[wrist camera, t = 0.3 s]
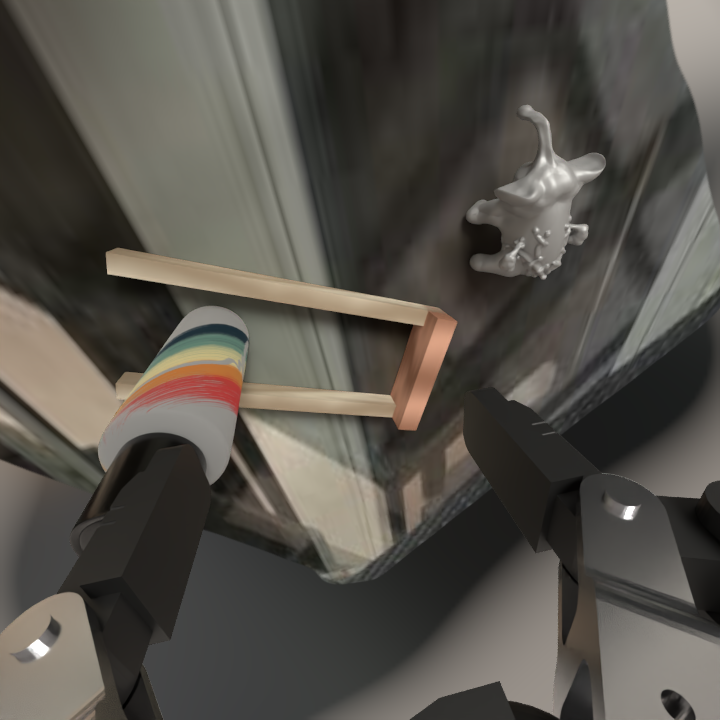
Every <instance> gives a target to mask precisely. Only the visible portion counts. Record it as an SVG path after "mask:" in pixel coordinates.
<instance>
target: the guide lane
mask: <svg viewBox="0 0 720 720" xmlns="http://www.w3.org/2000/svg"><path fill="white" fill-rule="evenodd" d="M106 261H107V274H110V275H116V276H122V277H129V278H135V279H141V280H147V281H153V282H159V283H165V284H171V285H177V286H183V287H189V288H195V289H201V290H207V291H213V292H220V293H226V294H232V295H238V296H244V297H250V298H256V299H262V300H268V301H274V302H280V303H286V304H292V305H298V306H305V307H311V308H317V309H323V310H329V311H335V312H341V313H347V314H353V315H359V316H365V317H371V318H377V319H383V320H389V321H396V322H402V323H408V324H413V328H412V331H411V334H410V337H409V340H408V343H407V346H406V349H405V352H404V355H403V358H402V361H401V364H400V367H399V370H398V374H397V377H396V380H395V383H394V386H393V389H392V392H391V395H381V394H370V393H358V392H347V391H336V390H325V389H313V388H302V387H291V386H280V385H268V384H257V383H246V382H243V384H242V390H241V396H240V402H239V407H242V408H257V409H272V410H287V411H302V412H317V413H333V414H348V415H363V416H378V417H392V418H393V420H394V422H395V424H396V426H397V428H398V429H400V430H416V429H417V426H418V424H419V421H420V419H421V416H422V413H423V411H424V408H425V406H426V403H427V400H428V398H429V395H430V393H431V390H432V387H433V385H434V382H435V380H436V377H437V374H438V372H439V369H440V366H441V364H442V361H443V359H444V356H445V353H446V351H447V348H448V346H449V343H450V340H451V338H452V335H453V333H454V330H455V327H456V325H457V321H456V320H454V319H453V318H452V317H450V316H449V315H448V314H446V313H445V312H443V311H442V310H441V309H439V308H438V307H432V306H427V305H422V304H416V303H411V302H405V301H400V300H395V299H389V298H384V297H379V296H373V295H368V294H363V293H357V292H352V291H347V290H341V289H336V288H331V287H325V286H320V285H315V284H309V283H304V282H299V281H293V280H288V279H283V278H277V277H272V276H267V275H261V274H256V273H250V272H245V271H240V270H234V269H229V268H224V267H218V266H213V265H208V264H202V263H197V262H192V261H186V260H181V259H176V258H170V257H165V256H160V255H154V254H149V253H144V252H138V251H133V250H128V249H122V248H116V249H113V250H111V251H108V252H106ZM143 374H144V373H133V372H125V373H124V374H123V375H122V376H121V378H120V379H119V380H118V381H117V383H116V396H117V399H122V400H126V398H127V397H128V395H129V394H130V393H131V391H132V390H133V388H134V387H135V385H136V384H137V383H138V381H139V380H140V378H141V377H142V376H143Z"/></svg>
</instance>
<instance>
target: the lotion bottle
mask: <svg viewBox="0 0 720 720" xmlns="http://www.w3.org/2000/svg"><path fill="white" fill-rule="evenodd" d="M248 348H249V333H248V330H247V327H246V325H245V323H244V322H243V320H242V319H241V318H240V317H239V316H238V315H237V314H235V313H234V312H232V311H231V310H229V309H226V308H223V307H220V306H203V307H200V308H197V309H195V310H193V311H191V312H190V313H188V314H187V315H186V316H185V317H184V319H183V320H182V321H181V322H180V323H179V325H178V326H177V328H176V329H175V330H174V332H173V333H172V335H171V336H170V337H169V339H168V340H167V342H166V343H165V344H164V346H163V347H162V349H161V350H160V352H159V353H158V354H157V356H156V357H155V359H154V360H153V361H152V363H151V364H150V366H149V367H148V369H147V370H146V371H145V373H144V374H143V376H142V377H141V378H140V380H139V381H138V383H137V384H136V385H135V387H134V388H133V390H132V391H131V393H130V394H129V395H128V397H127V398H126V400H125V401H124V402H123V404H122V405H121V407H120V408H119V410H118V411H117V412H116V414H115V415H114V417H113V418H112V420H111V421H110V423H109V424H108V426H107V427H106V429H105V431H104V432H103V434H102V437H101V439H100V442H99V447H98V455H99V460H100V463H101V465H102V467H103V469H104V470H105V472H106V473H105V475H104V477H103V478H102V480H101V482H100V483H99V485H98V487H97V488H96V490H95V492H94V493H93V495H92V497H91V498H90V500H89V502H88V504H87V505H86V507H85V509H84V510H83V512H82V514H81V515H80V517H79V519H78V520H77V522H76V524H75V526H74V528H73V529H72V532H71V534H70V544H71V546H72V548H73V550H74V551H75V553H76V554H77V556H78V557H80V555H81V554H82V552H83V550H84V549H85V547H86V546H87V544H88V542H89V541H90V539H91V537H92V536H93V534H94V533H95V531H96V529H97V528H98V527H100V526H101V524H100V523H101V521H102V520H103V518H104V516H105V515H106V513H107V512H108V511H110V507H111V505H112V503H113V502H114V500H115V499H116V497H117V495H118V494H119V492H120V491H121V489H122V488H123V487H124V486H125V485H126V484H127V483H128V482H129V481H130V480H131V479H133V478H134V477H135V476H136V475H137V474H138V473H139V472H143V471H145V470H146V468H147V466H148V464H149V463H150V461H151V459H152V458H153V456H154V454H155V453H156V451H157V450H159V449H164V448H169V447H174V446H179V445H185V444H190V445H191V446H192V447H193V449H194V451H195V453H196V455H197V457H198V459H199V462H200V464H201V466H202V468H203V470H204V473H205V475H206V477H207V479H208V482H209V484H210V485H211V484H213V483H214V482H215V481H216V480H217V479H218V478H219V477H220V476H221V475H222V474H223V472H224V470H225V468H226V466H227V464H228V461H229V458H230V454H231V448H232V443H233V437H234V432H235V426H236V420H237V414H238V408H239V402H240V396H241V390H242V384H243V378H244V372H245V366H246V360H247V354H248Z"/></svg>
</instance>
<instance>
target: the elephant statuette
mask: <svg viewBox="0 0 720 720" xmlns="http://www.w3.org/2000/svg"><path fill="white" fill-rule="evenodd" d="M517 116H518V118H520V119H521V120H527V121H530V122H531V123H533V125H534V126H535V127H536V129H537V132H538V139H539V145H538V151H537V155H536V158H535V160H534V161H533V162H527V163H525V164H523V165H522V166H521V167H520V168H519V169H518V170H517V172H516V174H515V176H514V180H513V183H510V184H508V185H505V186H503V187H500V188H498V189H495V190H494V194H495V195H496V197H497V198H498V199H494V200H490V201H488V202H487V201H486V200H479V201H478V202H476V203H475V204H474V205H473V206H472V207H471V208H470V209H469V210H468V211H467V214H466V219H467V221H468V222H470V223H472V224H482V223H486V224H490V225H493V226H496V227H498V228H499V230H500V231H501V233H502V236H501V243H502V248H501V251H500V252H498V253H496V254H493V255H487V254H481V253H479V254H475V255H473V256H472V257H471V259H470V265H471V267H472V268H473V269H474V270H476V271H480V272H488V273H494V274H499V275H503V276H506V277H513V276H517V275H519V274H522V275H526V276H532V277H536V276H540V277H541V279H546V277H547V275H546V274H549V273H550V272H551V271H552V270H554V269H556V268H557V267H559V266H560V265H561V262H560V260H561V257H562V254H564V253H565V252H566V250H565V248H564V247H565V246H566V244H567V243H570V244H575V245H577V246H579V245H581V244H582V243H583V241H584V240H585V239H586V238H587V236H588V225H586V224H581V225H574V224H569V222H570V221H571V219H572V217H571V216H570V209H571V202H572V199H573V198H574V196H575V195H576V194H577V193H578V192H579V190H580V189H581V187H582V185H583V184H585V183H588V182H590V181H592V180H593V179H595V178H596V177H597V176H598V175H599V174H600V173H601V172H602V171H603V169H604V167H605V164H606V161H605V158H604V157H603V156H602V155H601V154H598V153H590V154H587V155H585V156H582V157H580V158H577V159H574V160H571V161H568V162H567V161H565V160H564V159H562V158H560V157H559V156H557V155H556V154H555V153H554V151H553V149H552V138H551V131H550V125H549V122H548V120H547V119H546V118H545V117H544V116H543V115H542V114H541V113H540V112H536V111H534V110H533V109H532V107H531V106H529V105H524V106H521V107H520V108H519V109H518V110H517ZM571 229H574V230H572V231H571Z"/></svg>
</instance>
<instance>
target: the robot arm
mask: <svg viewBox="0 0 720 720" xmlns="http://www.w3.org/2000/svg"><path fill="white" fill-rule="evenodd" d="M463 435H464V440H465V444H466V447H467V449H468V451H469V453H470V454H471V456H472V457H473V459H474V461H475V462H476V464H477V465H478V467H479V468H480V470H481V471H482V473H483V474H484V476H485V477H486V479H487V480H488V482H489V483H490V485H491V486H492V488H493V489H494V491H495V492H496V494H497V495H498V497H499V498H500V500H501V501H502V503H503V504H504V506H505V507H506V509H507V510H508V512H509V513H510V515H511V516H512V518H513V519H514V521H515V522H516V524H517V525H518V527H519V528H520V530H521V531H522V533H523V535H524V536H525V538H526V539H527V541H528V542H529V544H530V545H531V546H532V548H533V550H534V551H535V553H539V552H543V551H547V550H551V549H553V550H554V552H555V553H556V555H557V556H558V557H559V559H560V561H559V566H558V652H557V664H556V671H555V678H554V689H553V715H552V714H550V713H547V712H545V711H543V710H540V709H538V708H535V707H533V706H530V705H526V704H522V703H518V702H513V701H508V700H507V698H506V696H505V693H504V691H503V688H502V686H501V683H500V681H499V682H495V683H491V684H488V685H484V686H481V687H477V688H474V689H470V690H466V691H463V692H459V693H455V694H452V695H448V696H445V697H442V698H439V699H437V700H436V701H434V702H433V703H432V704H430V705H429V706H428V707H426V708H425V709H424V710H422V711H421V712H420V713H418V714H417V715H415V716H414V717H413V718H411V719H410V720H720V481H715V482H712V483H710V484H709V485H708V486H707V487H706V489H705V491H704V493H703V495H702V496H701V498H700V499H697V498H681V497H667V496H655V495H654V494H653V493H652V492H650V491H649V490H648V489H646V488H645V487H643V486H642V485H640V484H638V483H636V482H634V481H632V480H630V479H627V478H625V477H621V476H618V475H613V474H604V473H603V474H602V473H601V472H600V471H599V470H598V469H596V468H595V467H594V466H593V465H592V464H591V463H590V462H589V461H588V460H587V459H586V458H584V457H583V456H582V455H581V454H580V453H579V452H578V451H577V450H576V449H575V448H574V447H572V446H571V445H570V444H569V443H568V442H567V441H566V440H565V439H564V438H563V437H562V436H560V435H559V434H558V433H555V430H554V429H553V428H552V427H551V426H550V425H548V424H547V423H545V422H544V420H543V419H542V418H541V417H540V416H539V415H538V414H536V413H535V412H534V411H533V410H532V409H531V408H529V407H527V406H525V405H523V404H521V403H519V402H517V401H515V400H511V401H507V400H506V399H505V398H504V397H503V396H502V395H501V394H500V393H499V392H498V391H497V390H496V389H495V388H493V387H488V388H483V389H478V390H472V391H468V392H466V394H465V401H464V426H463ZM210 503H211V489H210V484H209V482H208V479H207V477H206V475H205V473H204V470H203V468H202V466H201V464H200V462H199V459H198V457H197V455H196V453H195V451H194V449H193V447H192V446H191V445H190V444H185V445H179V446H174V447H169V448H164V449H159V450H157V451H156V453H155V454H154V456H153V458H152V459H151V461H150V463H149V464H148V466H147V468H146V470H145V471H143V472H139V473H138V474H137V475H136V476H135V477H134V478H133V479H131V480H130V481H129V482H128V483H127V484H126V485H125V486H124V487H123V488H122V489H121V491H120V492H119V494H118V495H117V497H116V499H115V500H114V502H113V503H112V505H111V507H110V511H108V512H107V513H106V515H105V516H104V518H103V520H102V521H101V523H100V524H101V526H100V527H98V528H97V529H96V531H95V533H94V534H93V536H92V537H91V539H90V541H89V542H88V544H87V546H86V547H85V549H84V550H83V552H82V554H81V555H80V557H79V559H78V560H77V562H76V563H75V565H74V567H73V568H72V570H71V572H70V573H69V575H68V576H67V578H66V580H65V581H64V583H63V584H62V586H61V588H60V589H59V591H58V592H57V594H56V595H54V596H51V597H49V598H47V599H45V600H43V601H41V602H39V603H37V604H36V605H34V606H33V607H31V608H30V609H28V610H27V611H25V612H24V613H23V614H21V615H20V616H19V617H18V618H17V619H16V620H14V621H13V622H12V623H11V624H10V625H9V626H8V627H7V628H6V629H5V630H4V631H3V632H2V634H0V720H163V717H162V715H161V711H160V709H159V706H158V703H157V700H156V697H155V694H154V691H153V688H152V685H151V683H150V680H149V677H148V674H147V671H146V669H145V667H144V666H143V664H142V663H143V660H144V657H145V654H146V651H147V648H148V645H152V644H155V643H160V642H164V641H168V640H170V639H171V636H172V632H173V629H174V626H175V622H176V619H177V615H178V612H179V609H180V605H181V602H182V598H183V595H184V592H185V588H186V585H187V581H188V578H189V574H190V571H191V568H192V565H193V561H194V558H195V555H196V551H197V548H198V545H199V541H200V537H201V534H202V531H203V528H204V524H205V521H206V518H207V514H208V511H209V507H210Z"/></svg>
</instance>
